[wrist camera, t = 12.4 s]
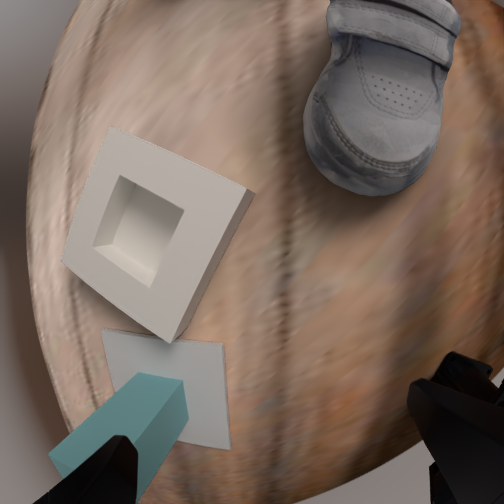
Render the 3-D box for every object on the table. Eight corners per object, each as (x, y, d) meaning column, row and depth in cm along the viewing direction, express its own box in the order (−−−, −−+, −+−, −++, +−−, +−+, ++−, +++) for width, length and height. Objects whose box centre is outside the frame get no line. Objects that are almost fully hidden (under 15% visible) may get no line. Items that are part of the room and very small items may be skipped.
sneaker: (272, 172, 18) (244, 122, 9) (329, -14, 15) (332, -93, 6) (414, 221, 17) (505, 223, 7) (436, 24, 14) (476, -39, 4)
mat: (224, 343, 20) (221, 346, 19) (231, 445, 21) (230, 449, 21) (104, 327, 22) (100, 330, 21) (128, 423, 23) (125, 426, 22)
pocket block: (255, 193, 19) (246, 188, 16) (186, 328, 20) (170, 343, 17) (132, 135, 20) (111, 125, 17) (84, 256, 21) (60, 261, 18)
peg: (182, 380, 20) (101, 483, 9) (189, 418, 21) (126, 520, 9) (138, 371, 21) (47, 454, 9) (146, 409, 21) (74, 494, 10)
